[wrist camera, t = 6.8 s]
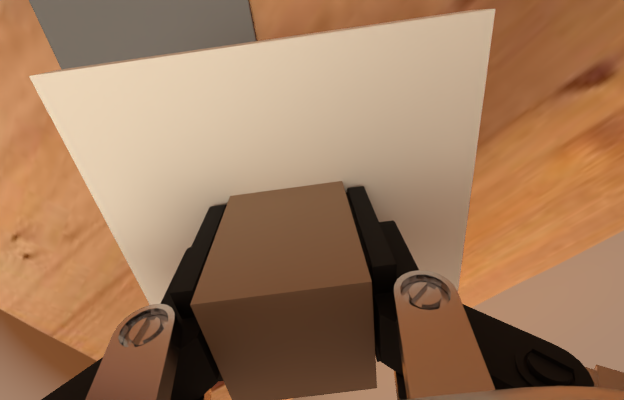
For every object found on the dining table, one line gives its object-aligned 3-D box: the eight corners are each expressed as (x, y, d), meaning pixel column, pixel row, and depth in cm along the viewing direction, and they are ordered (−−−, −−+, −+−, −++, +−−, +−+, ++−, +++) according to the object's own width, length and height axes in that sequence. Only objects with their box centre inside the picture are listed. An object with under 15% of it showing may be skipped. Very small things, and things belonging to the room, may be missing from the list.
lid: (472, 10, 9) (686, -3, 4) (442, 307, 15) (514, 450, 10) (58, 70, 9) (-210, 126, 4) (188, 338, 15) (136, 493, 10)
